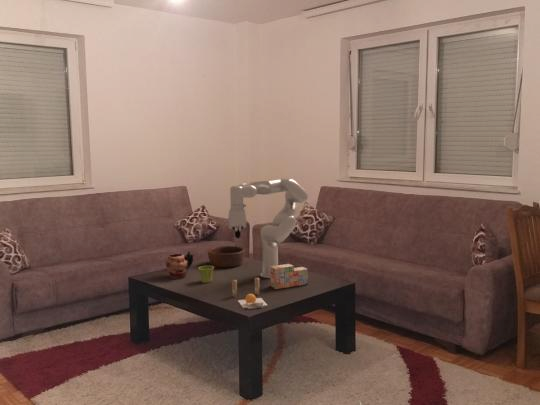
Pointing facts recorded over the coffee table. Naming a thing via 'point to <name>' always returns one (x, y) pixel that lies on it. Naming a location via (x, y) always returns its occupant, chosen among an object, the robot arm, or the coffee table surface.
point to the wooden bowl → (226, 256)
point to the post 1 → (234, 288)
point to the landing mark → (244, 304)
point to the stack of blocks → (288, 276)
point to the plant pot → (206, 273)
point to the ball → (250, 298)
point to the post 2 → (257, 286)
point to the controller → (188, 259)
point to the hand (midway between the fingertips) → (237, 237)
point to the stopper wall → (255, 305)
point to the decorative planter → (176, 265)
